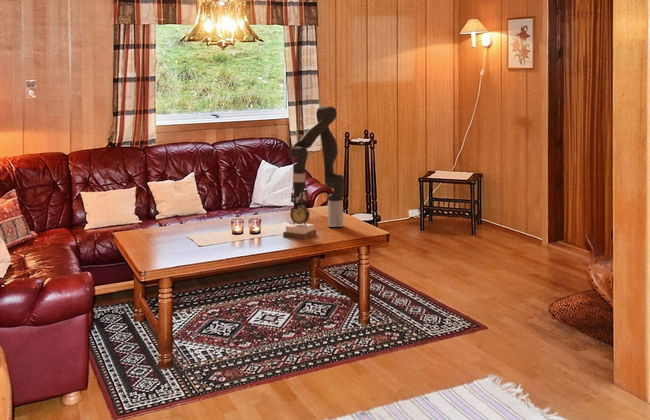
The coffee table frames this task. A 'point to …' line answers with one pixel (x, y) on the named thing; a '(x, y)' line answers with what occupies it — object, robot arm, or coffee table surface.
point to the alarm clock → (300, 214)
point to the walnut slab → (299, 236)
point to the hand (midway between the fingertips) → (299, 208)
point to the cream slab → (300, 228)
